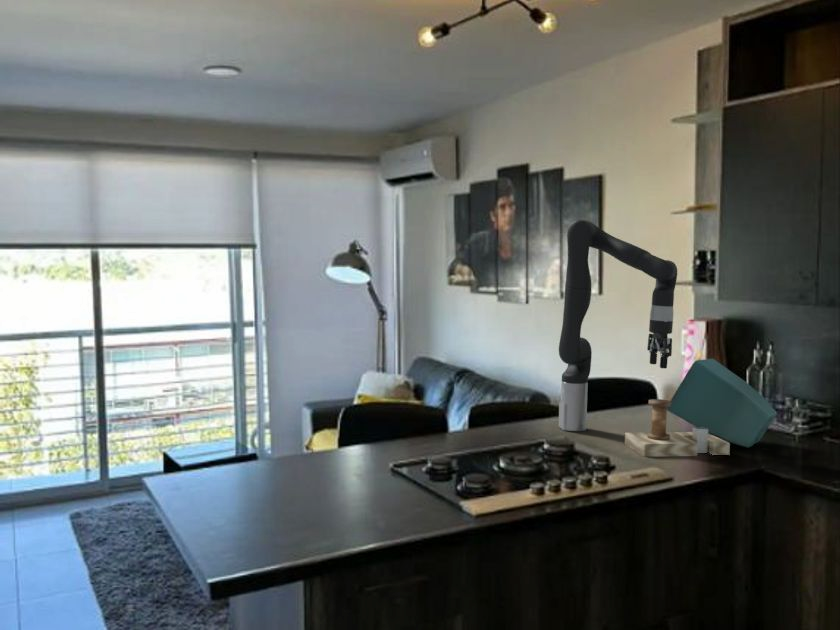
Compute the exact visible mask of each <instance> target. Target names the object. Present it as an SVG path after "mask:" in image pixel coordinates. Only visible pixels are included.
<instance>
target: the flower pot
mask: <svg viewBox="0 0 840 630" xmlns="http://www.w3.org/2000/svg"><path fill="white" fill-rule="evenodd" d="M670 401H671V406H669V407H667V411H668V412H669V413H671V414H673V415H675V416H677V417H678V418H680V419H682V420H683V421H685V422H687V423H688V424H690V425H692V426H693V427H705V428H707V429H708V433H709V434H711V435H713V436H715V437H717V438H720V439H722V440H724V441H726V442H728V443H730V444H734V445H738V446H741V447H745V448H750V447H753V446H754V445H753V444H755V443H756V442H758V441H759V442H760V440H761V439H762V437H763V436H764V434H765V433H766V432H767V430H768V428H769V427H770V426H771V424H772V422H773V421H774V420H775V418H776V416H777V415H778V412H777V411H776V410H775V408H774V407H773V406H772V405H771V404H770V403H769V402H768V400H766V398H765V397H764V396H762V395H761V394H760V393H759V392H758V391H757V390H756V388H753V387H752V386H751V385H750V384H749V383H748V382H746V381H745V380H744V379H742V378H741V377H740V376H738V375H737V374H736V373H734V372H732V371H731V370H729V368H727V367H726V366H724V365H722V364H721V363H720V362H718V361H717V360H715V359H714V358H707V359H698V360H695V361H694V362H693V363H692V365H691V366H690V368H689V369H688V371H687V373H686V374H685V375H684V378H683V379H682V381H681V383H680V384H679V385H678V388H677V390H676V391H675V392H674V395H673V396H672V397H671V399H670ZM759 442H758V443H759ZM756 444H757V443H756ZM756 444H755V445H756Z"/></svg>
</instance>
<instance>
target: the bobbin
mask: <svg viewBox="0 0 840 630" xmlns="http://www.w3.org/2000/svg"><path fill="white" fill-rule="evenodd" d="M648 405H649V406H652V407H651V408H652V409H651V410H652V412H651V413H652V414H651V431H649V432H648V431H647V432H648V433H647V438H649V439H653V440H669V439H670V434H667V433H666V432H667V413H668V412H667V411H668V410H667V407H669V406H671V400H668V399H660V398H659V399H657V398H655V399H654V398H652V399H648Z"/></svg>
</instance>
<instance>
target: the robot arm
mask: <svg viewBox="0 0 840 630" xmlns="http://www.w3.org/2000/svg"><path fill="white" fill-rule="evenodd" d="M566 240H567V241H566V243H567V264H566V265H567V266H566V276H565V286H564V301H563V302H564V303H563V304H564V305H563V317H562V327H561V333H560V336H559V338H560V339H559V344H558V354H559V355H558V356H559V357H560V359H561V361H562V362H563V363H565V364H567V366H566V367H567V368H566V369H565V371H564V372H563V373H562V374H561V390H560V392H561V393H560V397H561V398H560V401H559V402H558V405H559V406H558V428H560V429H561V430H563V431H569V432H584V431H587V414H588V413H587V411H588V410H587V409H588V384H589V383H588V380H589V376H590V374H591V367H592V352H593V351H592V347H591V344H590V342H589V340H588V339H586V338H584V337H581V331H582V324H583V322H584V319H585V316H586V315H587V312H588V311H589V307H590V304H591V299H592V298H591V296H592V277H591V272H590V267H589V266H590V265H589V253H590V248H592V249H596V250H599V251H602V252H603V253H606V254H608V255H610V256H611V257H613V258H614V259H616V260H618V261H620V262H621V263H623V264H624V265H627V266H629V267H631V268H633V269H635V270H638V271H641V272H643V273H644V274H646V275H647V276H649V277H652V278H653V279H655V286H654V289H653V290H652V294H651V296H652V297H651V307H650V312H649V324H648V325H649V328H648V331H649V333H648V338H647V339H648V340H647V351H649V364H650V365H657V361H658V359H657V358H658V353H659V354H660V362H659V368H660V369H667V368H668V358H669V357H672V351H673V339H672V338H670V337H668V335H670V334H672V333H673V325H674V303H675V302H674V300H675V290H676V289H675V288H676V284H677V280H678V268H677V265H676V263H675V262H673V261H671V260H669V259H667V260H665V259H663V258H661V257H658V256H655V254H651V252H650V251H648V250H646V249H643V248H641V247H639V246H637V245H634V244H632V243H629V242H627V241H624V240H622V239H621V238H620V239H619V238H617V237H615V236H612V235H611V234H610V233H608V232H606V231H605V230H603V229H601V228H600V227H598V226H597V225H596V224H594V223H593V222H591V221H590V220H586V219H585V220H584V219H576V220H574V221H572V222H571V224H570V225H569V226H568V228H567V232H566Z"/></svg>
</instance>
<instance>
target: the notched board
mask: <svg viewBox="0 0 840 630" xmlns="http://www.w3.org/2000/svg"><path fill="white" fill-rule="evenodd" d="M647 433H648V431H647V432H645V431H644V432H643V431H642V432H638V431H637V432H636V431H635V432H624V446H627V447H628V448H630V449H631V450H633V451H635V452H636V453H638V454H639V455H641V456H642V457H645V458H646V457H649V458H651V457H697V456H698V454H697V443H696V442H694V441H692V431H674V432H673V431H666V433H667V434H670V439H669V440H653V439H649V438H647ZM730 446H731V442H728V441H725V440H723V439H720V438H718V437H715V436H713V435H711V434H709V433H708V447H707V452H709V453H710V454H709V453H708V454H709V455H711V454H712V455H711V456H713V455H729V456H730V450H731V447H730Z"/></svg>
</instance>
